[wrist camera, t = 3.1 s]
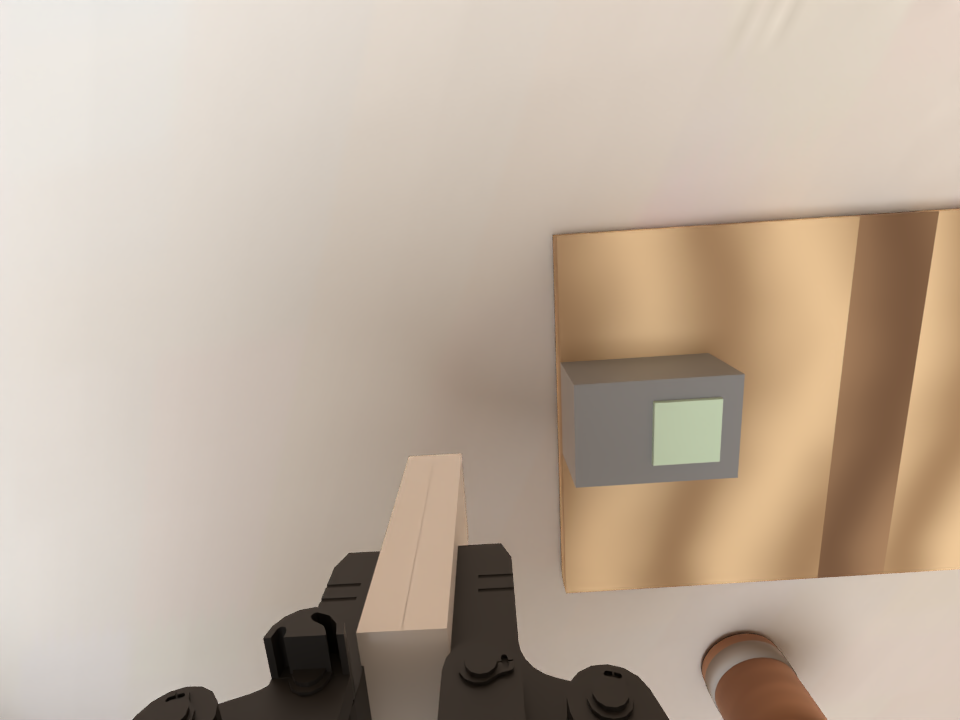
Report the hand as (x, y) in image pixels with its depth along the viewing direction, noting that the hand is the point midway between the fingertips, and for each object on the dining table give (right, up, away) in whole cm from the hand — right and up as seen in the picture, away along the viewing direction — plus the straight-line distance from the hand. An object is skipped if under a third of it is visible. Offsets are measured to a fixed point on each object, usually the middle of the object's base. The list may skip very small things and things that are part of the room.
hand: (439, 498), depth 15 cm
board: (+14, +2, +8) cm, 16 cm away
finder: (+8, +2, +7) cm, 10 cm away
